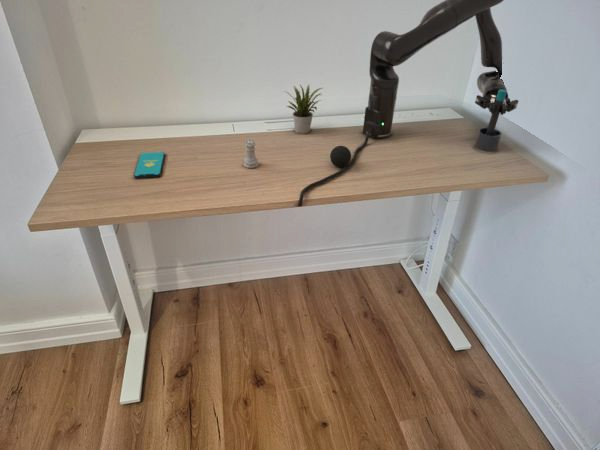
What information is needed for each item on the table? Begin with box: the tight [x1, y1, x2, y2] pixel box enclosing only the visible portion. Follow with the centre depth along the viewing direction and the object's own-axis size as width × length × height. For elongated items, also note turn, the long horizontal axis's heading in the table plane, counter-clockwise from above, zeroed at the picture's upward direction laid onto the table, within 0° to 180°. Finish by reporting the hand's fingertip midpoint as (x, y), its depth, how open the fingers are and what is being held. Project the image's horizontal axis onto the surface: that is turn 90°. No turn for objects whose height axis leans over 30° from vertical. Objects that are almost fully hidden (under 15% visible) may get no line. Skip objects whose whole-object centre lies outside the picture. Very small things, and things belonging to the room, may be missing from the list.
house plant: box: [283, 84, 323, 135], centre depth 146 cm, size 14×14×16 cm
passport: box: [133, 151, 165, 179], centre depth 126 cm, size 7×1×15 cm
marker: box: [486, 89, 508, 136], centre depth 135 cm, size 2×2×16 cm
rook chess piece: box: [243, 138, 259, 169], centre depth 126 cm, size 4×4×8 cm
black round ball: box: [329, 145, 352, 168], centre depth 129 cm, size 6×6×10 cm
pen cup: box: [474, 127, 503, 153], centre depth 140 cm, size 7×7×6 cm
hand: (498, 111), depth 131 cm, fingers closed on marker, 2 cm apart
